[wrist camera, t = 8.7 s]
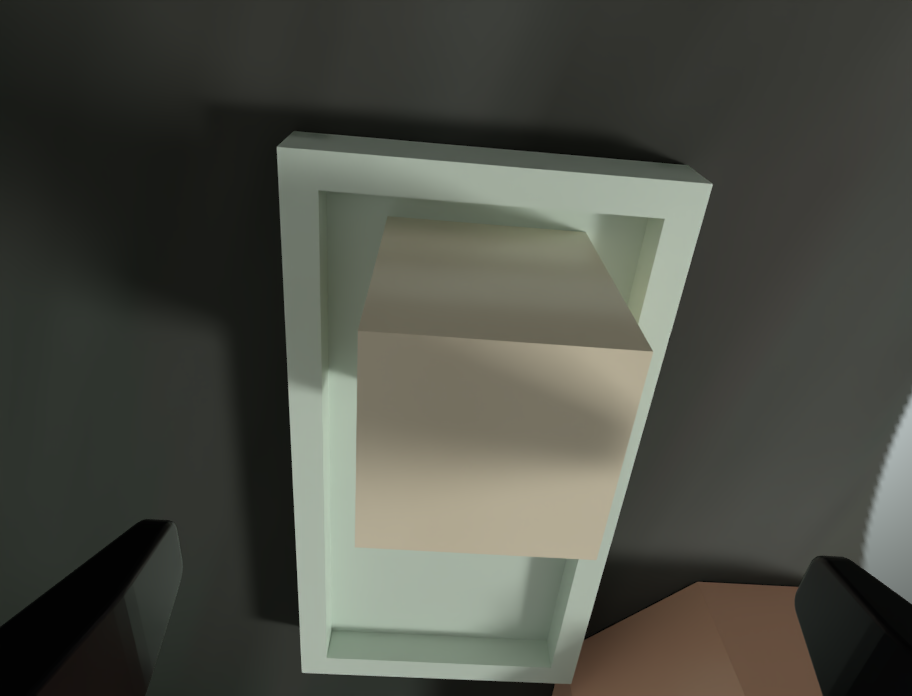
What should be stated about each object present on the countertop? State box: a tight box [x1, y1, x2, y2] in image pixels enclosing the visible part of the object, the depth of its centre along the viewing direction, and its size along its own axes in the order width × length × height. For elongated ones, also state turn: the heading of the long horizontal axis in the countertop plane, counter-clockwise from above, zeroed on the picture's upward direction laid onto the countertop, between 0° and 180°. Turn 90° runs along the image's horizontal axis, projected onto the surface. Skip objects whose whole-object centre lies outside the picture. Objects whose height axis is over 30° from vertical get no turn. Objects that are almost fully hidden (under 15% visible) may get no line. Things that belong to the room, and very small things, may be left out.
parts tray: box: [277, 131, 713, 684], centre depth 18 cm, size 17×9×2 cm, turn 175°
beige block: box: [355, 216, 653, 560], centre depth 13 cm, size 4×4×6 cm
